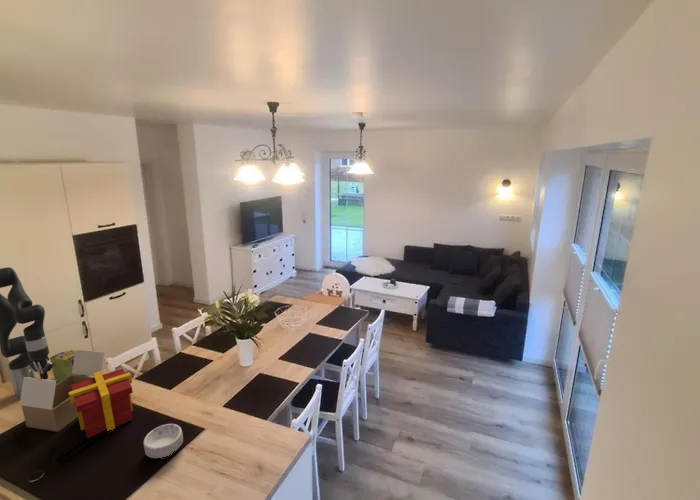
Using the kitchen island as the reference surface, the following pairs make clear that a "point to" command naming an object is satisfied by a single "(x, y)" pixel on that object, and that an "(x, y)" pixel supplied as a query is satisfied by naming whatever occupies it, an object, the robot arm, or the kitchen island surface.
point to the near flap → (37, 393)
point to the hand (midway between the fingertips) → (44, 379)
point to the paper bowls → (163, 441)
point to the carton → (55, 408)
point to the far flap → (87, 362)
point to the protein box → (63, 365)
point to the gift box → (103, 401)
